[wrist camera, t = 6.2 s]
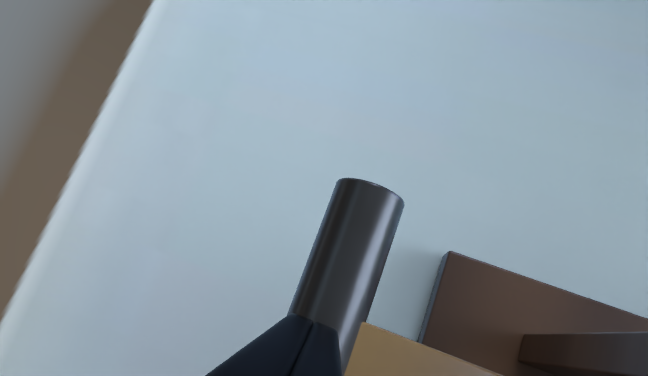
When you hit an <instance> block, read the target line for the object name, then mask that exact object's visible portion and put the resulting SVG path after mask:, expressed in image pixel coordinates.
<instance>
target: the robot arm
mask: <svg viewBox="0 0 648 376" xmlns="http://www.w3.org/2000/svg"><path fill="white" fill-rule="evenodd" d="M205 376H343V373H342V364H341V355H340V347H339V338H338V333H337V330H336V329H334V328H332V327H329V326H327V325H324V324H321V323H319V322H315V323H314V324H313V321H312V320H311V319H308V318H305V317H303V316H300V315H297V314H295V313H292V314H289V315H288V316H286V317H285V318H283V319H282V320H281V321H279V322H278V323H277V324H275V325H274V326H272V327H271V328H270V329H268V330H267V331H266V332H264V333H263V334H261V335H260V336H259V337H257V338H256V339H255V340H253V341H252V342H251V343H249V344H248V345H246V346H245V347H244V348H242V349H241V350H240V351H238V352H237V353H235V354H234V355H233V356H231V357H230V358H229V359H227V360H226V361H225V362H223V363H222V364H220V365H219V366H218V367H216V368H215V369H214V370H212V371H211V372H209V373H208V374H207V375H205Z"/></svg>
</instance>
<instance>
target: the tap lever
mask: <svg viewBox="0 0 648 376" xmlns="http://www.w3.org/2000/svg"><path fill="white" fill-rule="evenodd" d="M403 208H404V201H403V200H402V198H401V197H399V196H398V195H397V194H395V193H394V192H392V191H391V190H389V189H387V188H385V187H383V186H380V185H378V184H375V183H372V182H369V181H365V180H361V179H355V178H342V179H339V180H338V181H337V183H336V186H335V188H334V191H333V194H332V196H331V199H330V202H329V204H328V207H327V210H326V212H325V215H324V218H323V220H322V223H321V226H320V228H319V231H318V234H317V236H316V239H315V242H314V244H313V247H312V250H311V252H310V255H309V258H308V260H307V263H306V266H305V268H304V271H303V274H302V276H301V279H300V282H299V284H298V287H297V290H296V292H295V295H294V298H293V300H292V303H291V306H290V308H289V311H288V314H287V316H288V315H289V314H292V313H295V314H297V315H300V316H303V317H305V318H308V319H311V320H312V321H313V324H314V323H315V322H319V323H321V324H324V325H327V326H329V327H332V328H334V329H336V330H337V333H338V338H339V347H340V355H341V364H342V373H343V376H503V375H500V374H498V373H495V372H493V371H490V370H488V369H485V368H482V367H480V366H477V365H475V364H472V363H470V362H467V361H464V360H462V359H459V358H457V357H454V356H452V355H449V354H446V353H444V352H441V351H439V350H436V349H434V348H431V347H428V346H426V345H423V344H421V343H418V342H416V341H413V340H410V339H408V338H405V337H403V336H400V335H398V334H395V333H392V332H390V331H387V330H385V329H382V328H380V327H377V326H374V325H372V324H369V323H367V322H366V320H367V317H368V314H369V311H370V308H371V305H372V302H373V299H374V296H375V293H376V290H377V287H378V284H379V281H380V278H381V275H382V272H383V269H384V266H385V263H386V259H387V256H388V253H389V250H390V247H391V244H392V241H393V238H394V235H395V232H396V229H397V226H398V223H399V220H400V217H401V214H402V211H403Z"/></svg>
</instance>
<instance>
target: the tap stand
mask: <svg viewBox="0 0 648 376" xmlns="http://www.w3.org/2000/svg"><path fill="white" fill-rule="evenodd" d="M418 343H421V344H423V345H426V346H428V347H431V348H434V349H436V350H439V351H441V352H444V353H446V354H449V355H452V356H454V357H457V358H459V359H462V360H464V361H467V362H470V363H472V364H475V365H477V366H480V367H482V368H485V369H488V370H490V371H493V372H495V373H498V374H500V375H503V376H648V319H647V318H644V317H641V316H638V315H635V314H632V313H630V312H627V311H624V310H621V309H618V308H615V307H612V306H609V305H606V304H604V303H601V302H598V301H595V300H592V299H589V298H586V297H583V296H580V295H577V294H575V293H572V292H569V291H566V290H563V289H560V288H557V287H554V286H551V285H548V284H546V283H543V282H540V281H537V280H534V279H531V278H528V277H525V276H522V275H519V274H517V273H514V272H511V271H508V270H505V269H502V268H499V267H496V266H493V265H490V264H488V263H485V262H482V261H479V260H476V259H473V258H470V257H467V256H464V255H462V254H459V253H456V252H453V251H449V252H447V253H446V254H445V255H444V256H443V258H442V261H441V265H440V268H439V271H438V275H437V278H436V281H435V285H434V288H433V291H432V295H431V298H430V301H429V305H428V308H427V312H426V315H425V318H424V322H423V325H422V328H421V332H420V335H419V338H418Z"/></svg>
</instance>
